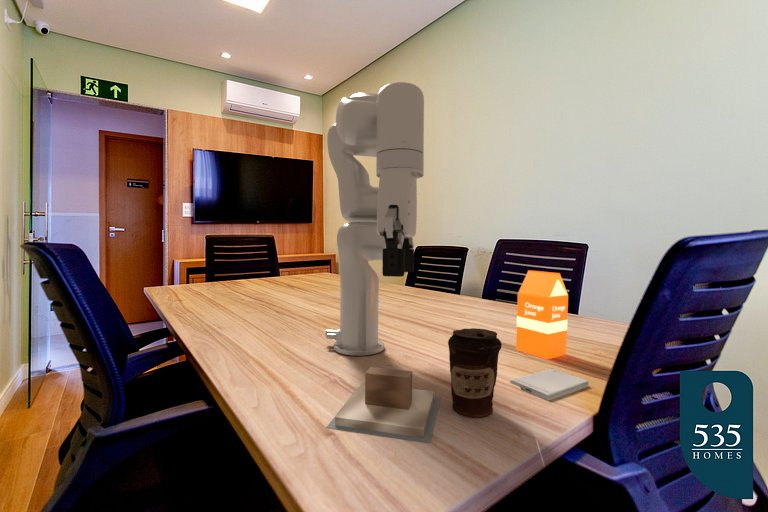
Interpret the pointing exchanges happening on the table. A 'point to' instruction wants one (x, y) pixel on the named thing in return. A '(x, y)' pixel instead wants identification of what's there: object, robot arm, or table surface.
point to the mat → (426, 436)
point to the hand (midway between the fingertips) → (399, 273)
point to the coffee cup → (473, 371)
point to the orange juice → (542, 315)
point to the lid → (388, 404)
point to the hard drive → (550, 384)
